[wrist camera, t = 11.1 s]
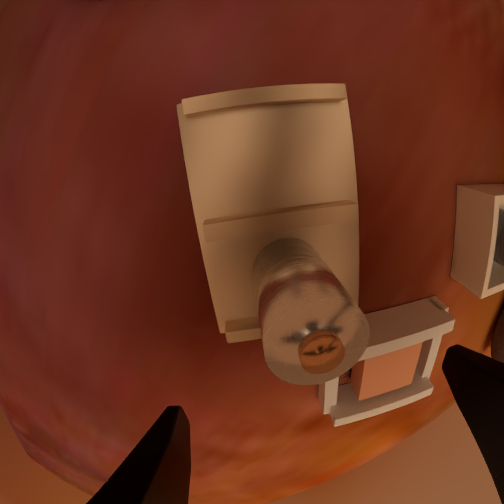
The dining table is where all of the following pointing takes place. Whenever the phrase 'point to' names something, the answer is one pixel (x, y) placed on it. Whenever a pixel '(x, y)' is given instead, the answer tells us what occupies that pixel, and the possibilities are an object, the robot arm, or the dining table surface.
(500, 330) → the perforated stone tool
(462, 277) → the bin
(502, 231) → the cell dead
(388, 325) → the cradle
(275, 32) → the dining table surface
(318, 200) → the troughs
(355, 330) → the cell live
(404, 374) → the pad
